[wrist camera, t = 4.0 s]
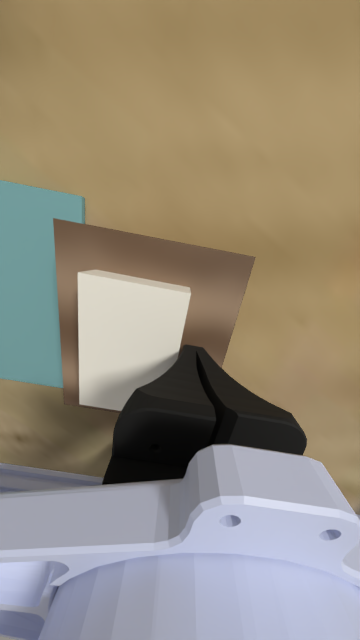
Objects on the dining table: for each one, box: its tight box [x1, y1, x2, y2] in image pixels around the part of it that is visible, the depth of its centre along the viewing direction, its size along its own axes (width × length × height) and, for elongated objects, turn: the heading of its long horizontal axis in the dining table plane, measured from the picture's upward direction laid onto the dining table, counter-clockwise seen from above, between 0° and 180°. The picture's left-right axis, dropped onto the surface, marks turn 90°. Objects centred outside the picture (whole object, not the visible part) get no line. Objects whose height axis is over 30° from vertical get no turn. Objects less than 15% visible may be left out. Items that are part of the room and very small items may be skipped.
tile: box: [78, 270, 191, 411], centre depth 12 cm, size 9×6×2 cm, turn 169°
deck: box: [53, 218, 255, 413], centre depth 15 cm, size 14×12×4 cm
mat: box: [0, 180, 85, 388], centre depth 16 cm, size 18×14×1 cm
